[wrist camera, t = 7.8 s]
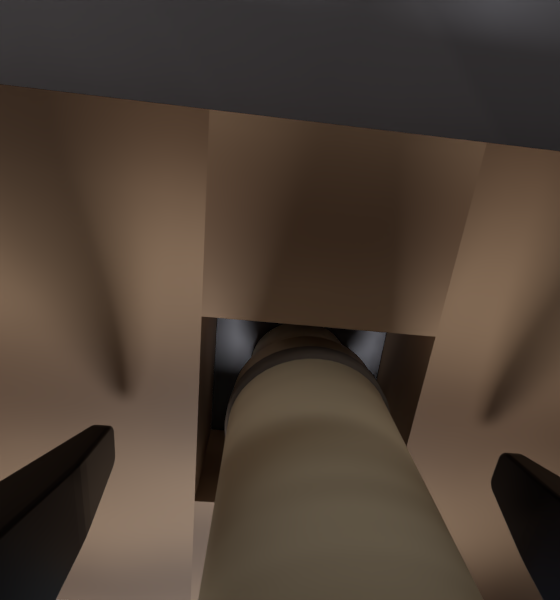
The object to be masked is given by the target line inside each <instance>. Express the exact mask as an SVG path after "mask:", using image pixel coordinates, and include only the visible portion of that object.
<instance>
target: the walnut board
mask: <svg viewBox="0 0 560 600" xmlns="http://www.w3.org/2000/svg"><path fill="white" fill-rule="evenodd" d="M217 318H226V319H238V320H249V321H261V322H272V323H284V324H295V325H307V326H318V327H330V328H341V329H353V330H364V331H376V332H387V334H386V339H385V344H384V348H383V353H382V358H381V362H380V367H379V371H378V376H377V382H378V384H379V386H380V388H381V390H382V392H383V394H384V395H385V397H386V399H387V402H388V405H389V409H390V415H391V417H392V419H393V421H394V423H395V425H396V427H397V429H398V431H399V433H400V435H401V437H402V439H403V441H404V443H405V445H406V447H407V449H408V451H409V453H410V455H411V456H412V458H413V460H414V462H415V464H416V466H417V468H418V470H419V472H420V474H421V476H422V478H423V480H424V482H425V484H426V486H427V488H428V490H429V492H430V494H431V496H432V498H433V500H434V502H435V504H436V506H437V508H438V510H439V512H440V514H441V516H442V518H443V520H444V522H445V524H446V526H447V528H448V530H449V532H450V534H451V536H452V538H453V540H454V542H455V544H456V546H457V548H458V550H459V552H460V554H461V556H462V558H463V560H464V562H465V564H466V566H467V568H468V570H469V572H470V574H471V576H472V578H473V580H474V582H475V584H476V586H477V588H478V590H479V592H480V594H481V596H482V598H483V600H543V599H542V597H541V595H540V593H539V591H538V589H537V587H536V586H535V584H534V582H533V580H532V578H531V576H530V574H529V572H528V570H527V568H526V566H525V564H524V562H523V560H522V558H521V556H520V554H519V552H518V550H517V547H516V545H515V543H514V540H513V538H512V536H511V533H510V531H509V529H508V526H507V524H506V522H505V519H504V517H503V515H502V512H501V510H500V508H499V505H498V503H497V501H496V498H495V496H494V494H493V491H492V488H491V478H492V475H493V472H494V470H495V467H496V464H497V462H498V459H499V457H500V455H501V454H502V453H518V454H522V455H524V456H526V457H527V458H529V459H531V460H532V461H534V462H536V463H538V464H539V465H541V466H543V467H544V468H546V469H548V470H549V471H551V472H553V473H554V474H556V475H558V476H559V477H560V151H553V150H545V149H536V148H528V147H520V146H511V145H503V144H495V143H486V142H478V141H469V140H461V139H453V138H444V137H436V136H428V135H419V134H411V133H403V132H394V131H386V130H378V129H369V128H361V127H353V126H344V125H336V124H328V123H319V122H311V121H303V120H294V119H286V118H277V117H269V116H261V115H252V114H244V113H236V112H227V111H219V110H211V109H202V108H194V107H186V106H177V105H169V104H161V103H152V102H144V101H136V100H127V99H119V98H111V97H102V96H94V95H85V94H77V93H69V92H60V91H52V90H44V89H35V88H27V87H19V86H10V85H2V84H0V481H1V480H3V479H5V478H6V477H8V476H9V475H11V474H13V473H14V472H16V471H18V470H19V469H21V468H23V467H24V466H26V465H28V464H29V463H31V462H32V461H34V460H36V459H37V458H39V457H41V456H42V455H44V454H46V453H47V452H49V451H51V450H52V449H54V448H55V447H57V446H59V445H60V444H62V443H64V442H65V441H67V440H69V439H70V438H72V437H74V436H75V435H77V434H78V433H80V432H82V431H83V430H85V429H87V428H88V427H90V426H92V425H110V426H112V427H113V429H114V440H115V462H114V466H113V469H112V471H111V474H110V477H109V479H108V482H107V485H106V487H105V490H104V493H103V495H102V498H101V501H100V503H99V506H98V509H97V511H96V514H95V516H94V519H93V522H92V524H91V527H90V529H89V532H88V534H87V537H86V539H85V541H84V543H83V546H82V548H81V550H80V552H79V554H78V556H77V558H76V560H75V562H74V564H73V566H72V568H71V570H70V572H69V574H68V576H67V578H66V580H65V582H64V584H63V586H62V588H61V590H60V592H59V594H58V596H57V598H56V600H198V597H199V591H200V585H201V580H202V574H203V568H204V562H205V556H206V550H207V544H208V538H209V532H210V526H211V520H212V515H213V509H214V503H215V497H216V491H217V485H218V479H219V473H220V467H221V461H222V455H223V449H224V444H225V430H211V422H212V403H213V384H214V365H215V346H216V327H217Z"/></svg>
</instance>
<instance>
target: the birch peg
mask: <svg viewBox="0 0 560 600" xmlns="http://www.w3.org/2000/svg"><path fill="white" fill-rule="evenodd" d="M198 600H483V598H482V596H481V594H480V592H479V590H478V588H477V586H476V584H475V582H474V580H473V578H472V576H471V574H470V572H469V570H468V568H467V566H466V564H465V562H464V560H463V558H462V556H461V554H460V552H459V550H458V548H457V546H456V544H455V542H454V540H453V538H452V536H451V534H450V532H449V530H448V528H447V526H446V524H445V522H444V520H443V518H442V516H441V514H440V512H439V510H438V508H437V506H436V504H435V502H434V500H433V498H432V496H431V494H430V492H429V490H428V488H427V486H426V484H425V482H424V480H423V478H422V476H421V474H420V472H419V470H418V468H417V466H416V464H415V462H414V460H413V458H412V456H411V455H410V453H409V451H408V449H407V447H406V445H405V443H404V441H403V439H402V437H401V435H400V433H399V431H398V429H397V427H396V425H395V423H394V421H393V419H392V417H391V415H390V409H389V405H388V402H387V399H386V397H385V395H384V394H383V392H382V390H381V388H380V386H379V384H378V382H377V380H376V379H375V377H374V376H373V375H372V373H371V372H370V371H369V370H368V369H367V367H366V366H365V364H364V363H363V362H362V360H361V359H360V358H359V357H358V356H357V355H356V354H355V353H354V352H352V351H351V350H350V349H348V348H347V347H345V346H343V345H341V343H340V341H339V340H338V339H337V337H336V336H335V335H334V334H333V333H331V332H330V331H329V330H327V329H326V328H324V327H318V326H307V325H295V324H282V325H279V326H277V327H275V328H273V329H272V330H270V331H269V332H267V333H266V334H265V335H264V336H263V337H262V338H261V339H260V340H259V342H258V343H257V345H256V346H255V348H254V351H253V353H252V357H251V358H250V360H249V361H248V362H247V363H246V364H245V365H244V367H243V368H242V370H241V371H240V373H239V375H238V377H237V379H236V383H235V386H234V389H233V391H232V393H231V396H230V399H229V402H228V407H227V412H226V418H225V444H224V449H223V455H222V461H221V467H220V473H219V479H218V485H217V491H216V497H215V503H214V509H213V515H212V520H211V526H210V532H209V538H208V544H207V550H206V556H205V562H204V568H203V574H202V580H201V585H200V591H199V597H198Z"/></svg>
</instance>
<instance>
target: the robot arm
mask: <svg viewBox="0 0 560 600" xmlns="http://www.w3.org/2000/svg"><path fill="white" fill-rule="evenodd" d="M114 462H115V440H114V429H113V427H112V426H110V425H92V426H90V427H88V428H87V429H85V430H83V431H82V432H80V433H78V434H77V435H75V436H74V437H72V438H70V439H69V440H67V441H65V442H64V443H62V444H60V445H59V446H57V447H55V448H54V449H52V450H51V451H49V452H47V453H46V454H44V455H42V456H41V457H39V458H37V459H36V460H34V461H32V462H31V463H29V464H28V465H26V466H24V467H23V468H21V469H19V470H18V471H16V472H14V473H13V474H11V475H9V476H8V477H6V478H5V479H3V480H1V481H0V600H56V598H57V596H58V594H59V592H60V590H61V588H62V586H63V584H64V582H65V580H66V578H67V576H68V574H69V572H70V570H71V568H72V566H73V564H74V562H75V560H76V558H77V556H78V554H79V552H80V550H81V548H82V546H83V543H84V541H85V539H86V537H87V534H88V532H89V529H90V527H91V524H92V522H93V519H94V516H95V514H96V511H97V509H98V506H99V503H100V501H101V498H102V495H103V493H104V490H105V487H106V485H107V482H108V479H109V477H110V474H111V471H112V469H113V466H114ZM491 488H492V491H493V494H494V496H495V498H496V501H497V503H498V505H499V508H500V510H501V512H502V515H503V517H504V519H505V522H506V524H507V526H508V529H509V531H510V533H511V536H512V538H513V540H514V543H515V545H516V547H517V550H518V552H519V554H520V556H521V558H522V560H523V562H524V564H525V566H526V568H527V570H528V572H529V574H530V576H531V578H532V580H533V582H534V584H535V586H536V587H537V589H538V591H539V593H540V595H541V597H542V599H543V600H560V477H559V476H558V475H556V474H554V473H553V472H551V471H549V470H548V469H546V468H544V467H543V466H541V465H539V464H538V463H536V462H534V461H532V460H531V459H529V458H527V457H526V456H524V455H522V454H518V453H502V454H501V455H500V457H499V459H498V462H497V464H496V467H495V470H494V472H493V475H492V478H491Z"/></svg>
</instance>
